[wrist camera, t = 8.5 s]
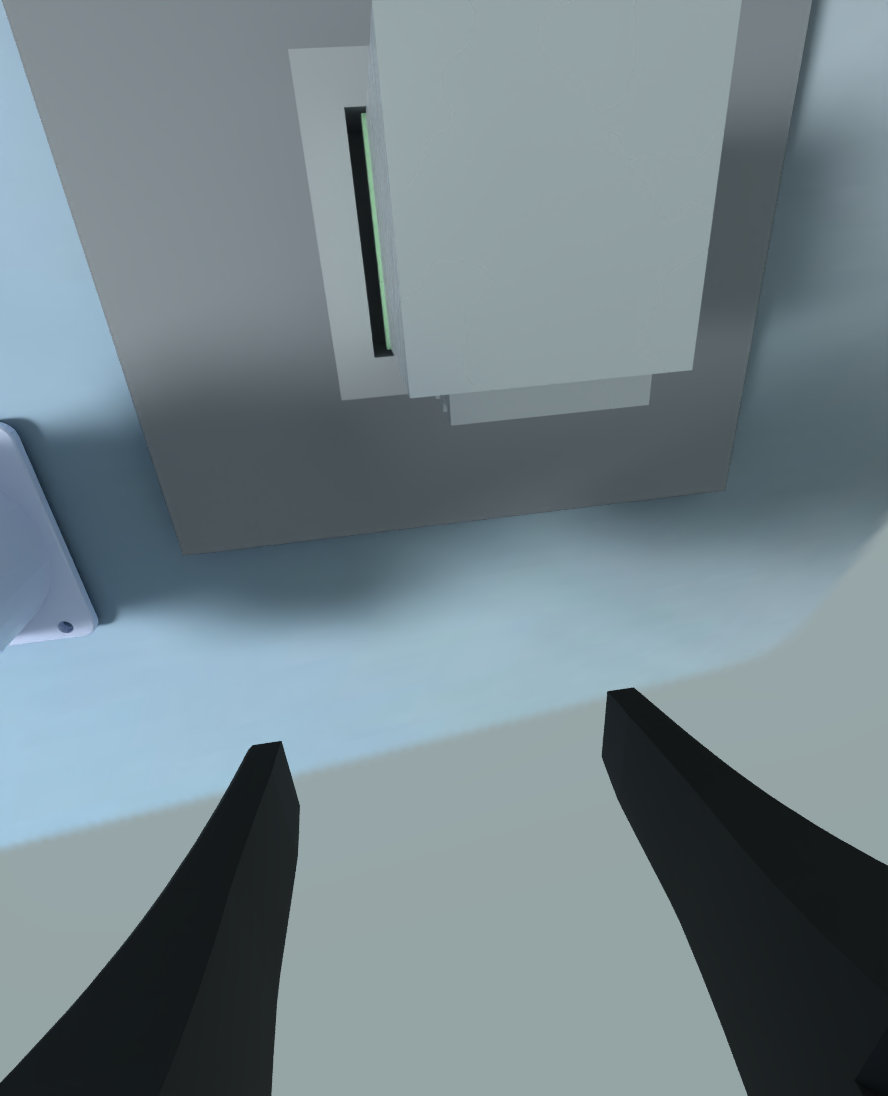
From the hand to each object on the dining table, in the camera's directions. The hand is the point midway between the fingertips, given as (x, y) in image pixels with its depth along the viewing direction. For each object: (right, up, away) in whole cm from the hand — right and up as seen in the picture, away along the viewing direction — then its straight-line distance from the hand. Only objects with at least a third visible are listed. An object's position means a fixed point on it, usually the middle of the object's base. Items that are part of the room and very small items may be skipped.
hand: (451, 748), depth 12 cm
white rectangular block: (0, +12, +1) cm, 12 cm away
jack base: (0, +14, +5) cm, 15 cm away
